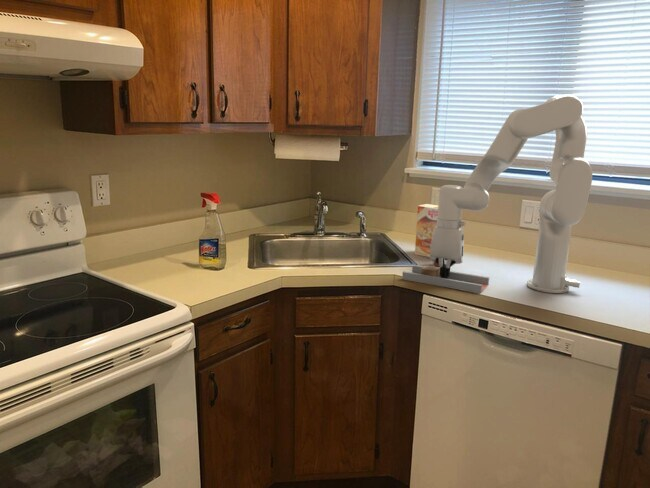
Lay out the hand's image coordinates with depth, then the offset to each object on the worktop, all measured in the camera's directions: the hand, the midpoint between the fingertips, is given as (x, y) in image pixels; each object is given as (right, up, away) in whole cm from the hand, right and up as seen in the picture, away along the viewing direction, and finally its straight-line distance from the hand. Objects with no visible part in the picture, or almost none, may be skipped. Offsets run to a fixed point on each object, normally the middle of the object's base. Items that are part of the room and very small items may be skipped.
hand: (444, 278), depth 178 cm
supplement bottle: (+3, +3, +20) cm, 20 cm away
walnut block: (-4, -1, +2) cm, 5 cm away
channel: (0, -1, 0) cm, 1 cm away
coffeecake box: (+4, +6, +32) cm, 33 cm away
